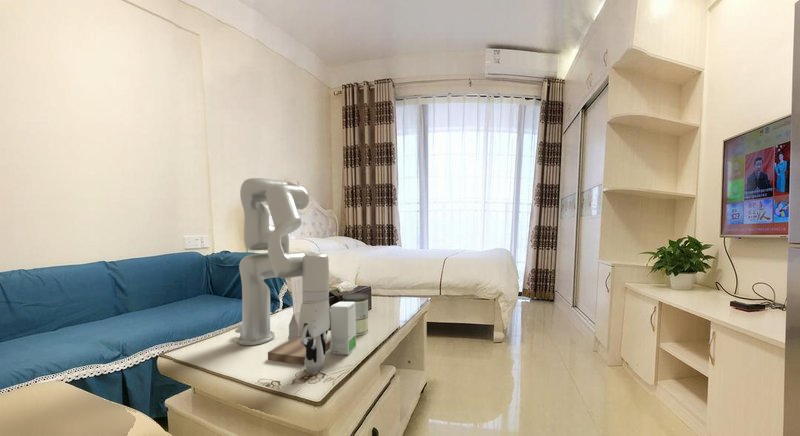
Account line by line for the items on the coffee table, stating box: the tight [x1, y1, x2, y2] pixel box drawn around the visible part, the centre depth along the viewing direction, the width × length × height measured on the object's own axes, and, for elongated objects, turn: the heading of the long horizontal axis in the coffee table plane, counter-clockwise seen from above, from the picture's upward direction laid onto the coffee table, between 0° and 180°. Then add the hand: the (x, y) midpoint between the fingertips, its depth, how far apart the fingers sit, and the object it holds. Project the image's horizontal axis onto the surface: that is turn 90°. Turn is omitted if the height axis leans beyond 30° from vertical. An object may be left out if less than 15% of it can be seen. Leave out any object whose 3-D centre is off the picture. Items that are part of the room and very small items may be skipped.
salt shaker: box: [303, 335, 325, 373], centre depth 92 cm, size 6×6×13 cm
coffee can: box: [341, 292, 369, 337], centre depth 125 cm, size 10×10×14 cm
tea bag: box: [288, 311, 301, 341], centre depth 117 cm, size 4×7×10 cm, turn 160°
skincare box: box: [329, 301, 357, 356], centre depth 106 cm, size 8×7×16 cm
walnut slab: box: [267, 337, 331, 367], centre depth 103 cm, size 14×14×2 cm
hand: (316, 357), depth 92 cm, fingers open, 4 cm apart
